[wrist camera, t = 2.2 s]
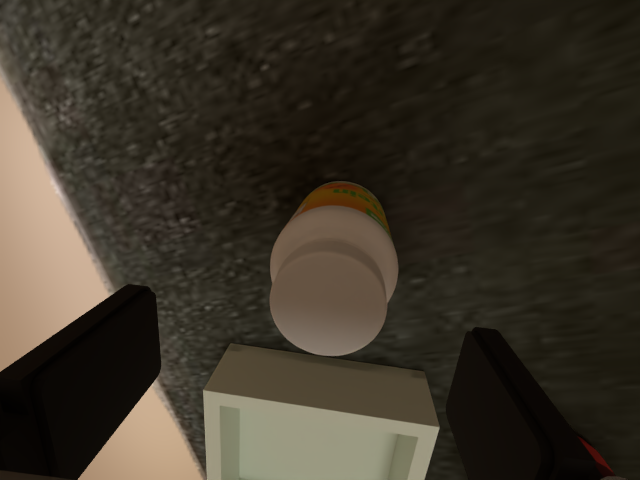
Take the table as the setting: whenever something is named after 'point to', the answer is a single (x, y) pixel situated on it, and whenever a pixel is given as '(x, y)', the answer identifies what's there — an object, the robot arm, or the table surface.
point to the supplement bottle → (333, 271)
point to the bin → (315, 418)
